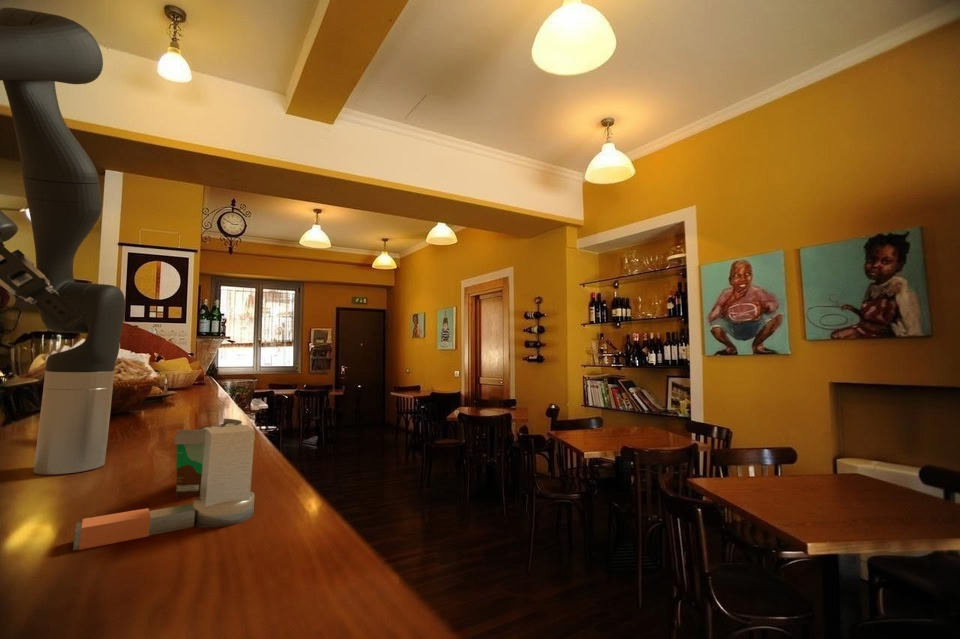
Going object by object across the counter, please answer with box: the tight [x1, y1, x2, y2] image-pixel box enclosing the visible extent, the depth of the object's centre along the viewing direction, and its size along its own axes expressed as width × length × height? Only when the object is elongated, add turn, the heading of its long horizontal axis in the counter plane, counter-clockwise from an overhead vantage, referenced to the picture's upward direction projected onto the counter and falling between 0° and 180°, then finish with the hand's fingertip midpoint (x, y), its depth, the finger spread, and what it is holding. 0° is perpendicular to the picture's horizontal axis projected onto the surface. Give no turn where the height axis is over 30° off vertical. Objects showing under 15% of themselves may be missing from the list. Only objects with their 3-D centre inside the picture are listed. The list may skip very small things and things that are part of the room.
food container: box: [173, 418, 243, 498], centre depth 69 cm, size 12×6×10 cm, turn 179°
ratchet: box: [72, 490, 256, 551], centre depth 54 cm, size 7×18×6 cm, turn 131°
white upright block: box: [199, 424, 256, 507], centre depth 57 cm, size 5×5×9 cm
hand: (75, 323), depth 53 cm, fingers open, 8 cm apart
